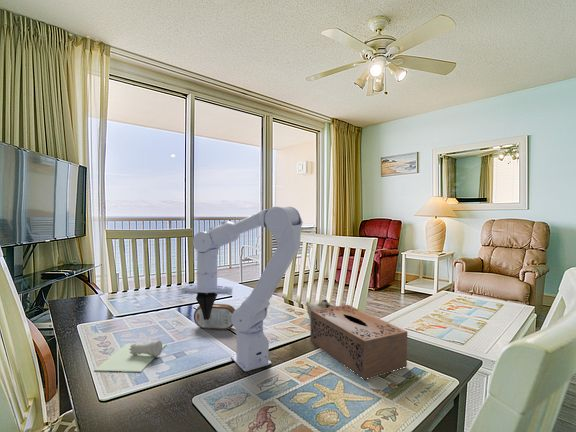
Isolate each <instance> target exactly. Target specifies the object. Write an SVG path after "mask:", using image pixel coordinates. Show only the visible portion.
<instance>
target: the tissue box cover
mask: <svg viewBox="0 0 576 432" xmlns="http://www.w3.org/2000/svg"><path fill="white" fill-rule="evenodd" d="M309 340H310V342H312V343H313V344H314V345H316V346H317V347H318V348H319V349H321V350H322V351H324V352H325V353H326V354H328V355H329V356H330V355H331V356H330V357H332V358H333V357H334V358H335V359H334V358H333V359H334V360H336V361H337V360H338V361H339V363H340V364H341V363H342V364H341V365H342V366H344V365H345V366H346V367H345V366H344V367H345V368H347V367H348V368H349V369H351V370H352V371H354V372H355V373H356V374H358V375H359V376H360V377H362V378H363V379H367V378H371V377H374V376H377V375H380V374H384V373H387V372H391V371H393V370H397V369H400V368H403V367H406V366H407V365H408V359H407V358H408V331H407V330H405V329H402V328H401V327H398V326H396V325H393V324H391V323H389V322H387V321H385V320H382V319H381V318H378V317H376V316H374V315H371V314H370V313H368V312H365V311H362V310H361V309H359V308H356V307H354V306H351V305H350V304H342V305H336V307H329V308H323V309H317V310H311V320H310V339H309ZM338 361H337V362H338ZM407 367H408V366H407ZM348 368H347V369H348ZM349 369H348V370H349ZM351 370H350V371H351ZM352 371H351V372H352ZM397 371H398V370H397ZM355 373H354V374H355ZM391 373H392V372H391ZM356 374H355V375H356ZM387 374H388V373H387ZM384 375H385V374H384ZM359 376H358V377H359ZM360 377H359V378H360ZM377 377H378V376H377ZM362 378H361V379H362ZM374 378H375V377H374ZM363 379H362V380H363ZM371 379H372V378H371ZM367 380H368V379H367Z"/></svg>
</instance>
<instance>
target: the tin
mask: <svg viewBox="0 0 576 432" xmlns="http://www.w3.org/2000/svg"><path fill="white" fill-rule="evenodd" d="M235 310H236V309H235V308H234V307H233V306H232V305H230V304H225V303H214V304H213V307H212V310H211V315H210V318H209V320H204V317H203V313H202V310H201V307H200V305H198V306H197V308H196V309H195V310H194V313H193V321H194V323H195V324H196V325H197V327H199V328H201V329H204V330H206V329H207V330H221V331H222V330H223V331H226V330H229V329H231V328H233V327H234V326H233V324H232V320H231V317H232V313H233V312H234V311H235Z"/></svg>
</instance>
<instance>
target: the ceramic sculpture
mask: <svg viewBox="0 0 576 432" xmlns="http://www.w3.org/2000/svg"><path fill="white" fill-rule="evenodd" d="M336 306H337V305H336V304H334V303H333V302H328V299H323V300H321V301H320V302H318V303H317V304H315V303H313V302H309V301H306V308H307V309H306V310H307V311H306V312H307V314H308V317H309V321H311V310H317V309H323V308H329V307H336Z"/></svg>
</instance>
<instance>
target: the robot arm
mask: <svg viewBox="0 0 576 432" xmlns="http://www.w3.org/2000/svg"><path fill="white" fill-rule="evenodd" d="M303 223H304V222H303V219H302V217H301V214H300V211H299V210H298V209H296V208H295V207H294V206H285V207H284V206H283V207H281V206H272V207H270V208H266V209H263V210H260V211H257V212H256V213H254V214H252V215H250V216H247V217H246V218H243V219H241V220H239V221H237V222H233V221H228V220H223V221H221V222H220V224H219V225H217V226H215V227H213V226H211V227H208V230H207V231H204V230H203V231H198V232H197V233H196V234H194V236H193V239H192V245H193V248H194V249H195V251H197V252H196V255H197V256H196V285H183V286H182V287H181V290H180V292H181V295H186V294H188V295H189V294H190V295H194V294H196V297H195V299H196V301H197V303H198V306H200V307H201V310H202V313H203V317H204V320H209V318H210V315H211V310H212V307H213V304H215V302H216V300H217V297H218V295H228V296H232V295H233V286H224V285H218V254H219V250H220V248H221V247H223V246H225V245H228V244H230V243H233V242H236V241H237V240H238V239H239V238H240V236H241V234H243V233H246V232H249V231H252V230H255V229H257V228H260V227H262V228H267V229H268V231H269V232H270V233H271V235H272V237H273V238H274V239H275V241H276V245H277V248H276V249H275V251H274V253H273V254H272V256H271V257H270V259H269V262H268V264H267V265H266V266H265V268H264V270H263V272H262V273H261V275H260V277H259V279H258V281H257V282H256V284H255V286H254V288H252V291H251V293H250V294H249V295H248V297H246V298H245V299H244V301H242V302H241V305H240V306H239V307H237V308H236V309H235V311H234V312H233V313H232V317H231V320H232V324H233V326H232V327H233V328H234V329H235V332H236V339H235V340H236V346H235V347H236V349H235V350H236V351H235V352H236V354H231V355H230V359H232V360H233V361H234V362H235V363H236V364H237V365H238V366H239V368H241V369H242V371H244V372H249V371H252V370H256V369H259V368H262V367H267V366H269V365H272V361H271V360H270V359H269V352H270V350H269V347H270V346H269V343H270V342H269V339H268V337H266V335H265V333H264V320H265V319H266V318H267V315H268V309H269V307H270V305H271V302H270V299H271V298H272V296H273V294H274V293H275V291H276V289H277V287H278V286H279V285H280V282H281V281H282V279H283V277H284V276H285V274H286V273H287V270H288V269H289V268H290V266H291V264H292V262H293V260H294V259H295V257H296V255H297V254H298V252H299V250H300V247H301V233H302V232H301V230H302V225H303Z"/></svg>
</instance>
